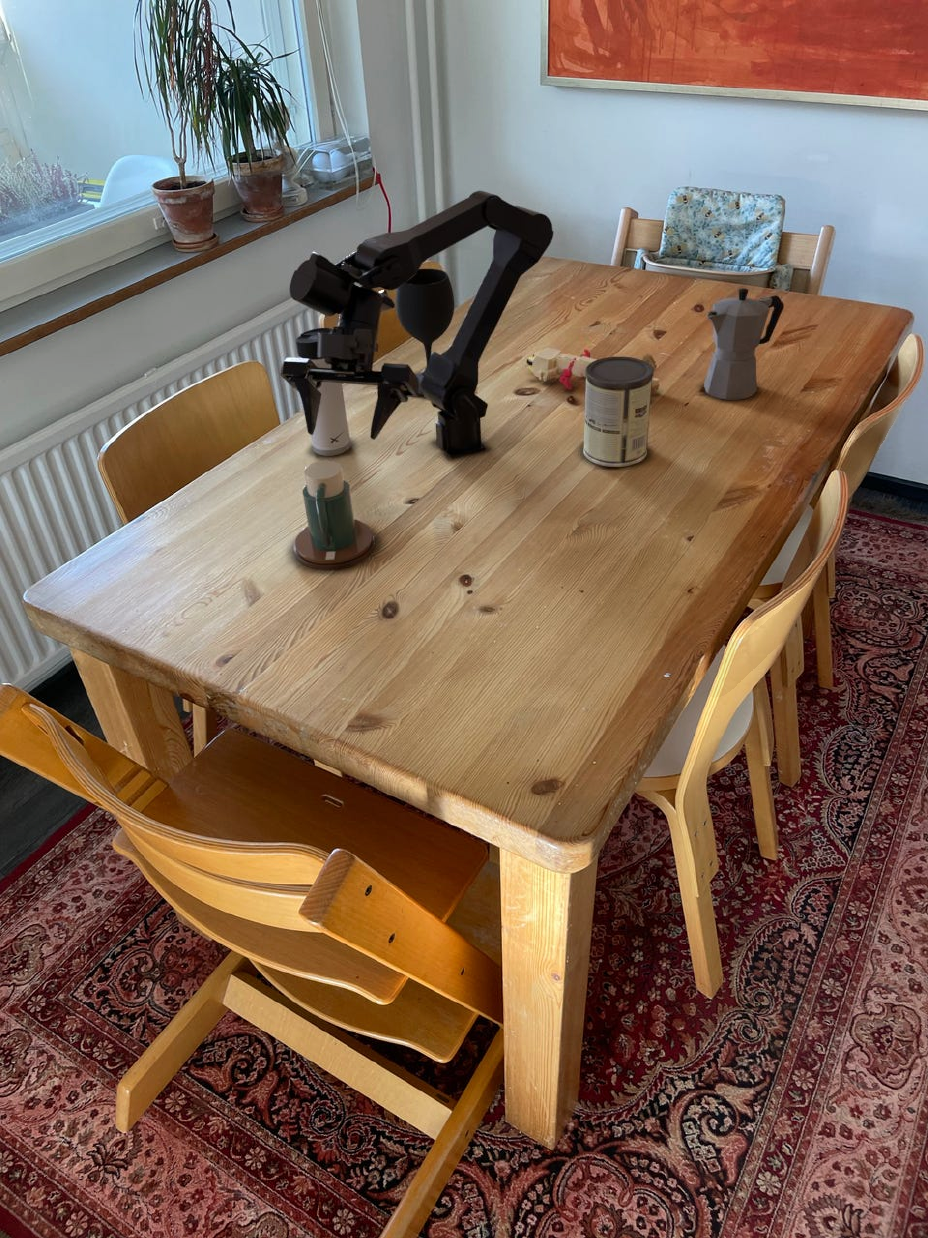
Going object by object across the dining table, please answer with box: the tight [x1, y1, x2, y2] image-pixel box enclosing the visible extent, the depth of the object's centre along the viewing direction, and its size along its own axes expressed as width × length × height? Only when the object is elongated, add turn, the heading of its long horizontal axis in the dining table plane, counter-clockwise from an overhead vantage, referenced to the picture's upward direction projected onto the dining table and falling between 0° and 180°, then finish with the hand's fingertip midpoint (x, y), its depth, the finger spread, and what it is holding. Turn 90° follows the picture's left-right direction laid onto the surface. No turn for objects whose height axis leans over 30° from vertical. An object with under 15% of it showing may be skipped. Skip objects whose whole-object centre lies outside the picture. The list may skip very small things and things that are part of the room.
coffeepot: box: [703, 287, 785, 401], centre depth 162 cm, size 15×9×18 cm, turn 113°
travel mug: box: [295, 327, 351, 457], centre depth 151 cm, size 6×7×20 cm
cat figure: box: [524, 346, 660, 396], centre depth 169 cm, size 10×9×25 cm
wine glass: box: [394, 268, 455, 397], centre depth 169 cm, size 10×10×20 cm
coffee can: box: [582, 356, 655, 468], centre depth 147 cm, size 10×10×14 cm
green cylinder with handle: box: [294, 460, 373, 564], centre depth 129 cm, size 12×11×12 cm
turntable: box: [292, 531, 377, 571], centre depth 133 cm, size 12×12×1 cm
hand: (341, 436), depth 131 cm, fingers open, 9 cm apart
